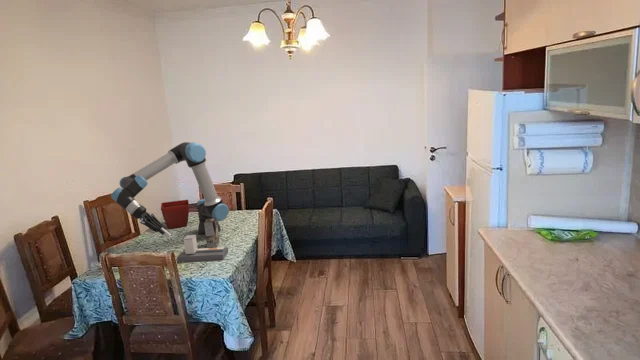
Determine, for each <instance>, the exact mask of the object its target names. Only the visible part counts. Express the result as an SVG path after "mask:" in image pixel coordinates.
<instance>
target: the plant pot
mask: <svg viewBox="0 0 640 360" xmlns="http://www.w3.org/2000/svg"><path fill="white" fill-rule="evenodd" d="M160 210H161V214H162V218H163V220H164V223H165V225H166V227H167V229H169V230H171V229H176V228H185V227H187V226H188V223H189V215H190V202H189V199H182V200H173V201H166V202H165V201H164V202H161V203H160Z"/></svg>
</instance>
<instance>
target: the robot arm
mask: <svg viewBox="0 0 640 360" xmlns="http://www.w3.org/2000/svg"><path fill="white" fill-rule="evenodd" d="M206 155H207V153H206V149H205V147H204V145H203V144H200V143H198V142H194V141H193V142H188V141H186V142H181V143H179V144H177V145H175V146H174V147H172V148H171V149H170V150H168V151H167V153H165V154H164V155H162V156H161V157H159V158H157V159H156V160H155V159H154V160H153V161H152V162H150V163H149V164H146V165H145V166H144V167H142V168H140V169H139V170H136V171H135V172H134V173H133V172H132V174H129V175H128V176H124V177H122V178H121V179H120V180H119V186H120V187H118V188H116V189H115V190H114V191H113V192H112V193H111V195H110V197H111V199H112V200H113V201H114V202H115V203H116V204H117V205H119V206H120V207H121V208H123V209H124V211H127V213H128V214H130V215H132V216H133V218H135V219H136V220H138V219H139V220H140V222H139V224H141V225H143V226H145V227H147V228H148V229H150V230H152V231H153V232H155V233H160V234H161V235H162V236H163V237H165V239H166V240H167V239H169V238H170V237H171V236H172V234H171V233H170V232H168V230H166V229H165V228H163V227H164V224H162V223H161V222H160V220H159V219H158V218H157V217H156V216H155V215H154V213H151V214H150V212H147V208H146V207H145V206H144V205H142V204H141V202H139V201H137V200H136V199H135V197H136V196H137V195H138V194H140V193H141V191H143V190H144V189H145V188H146V187H147V186H148V180H150V179H151V178H153V177H154V176H156V175H158V174H159V173H161V172H163V171H165V170H166V169H167V168H170V167H171V166H173V165H174V164H175V165H177V164H179V163H181V162H183V161H184V162H186V165H187V166H188V168H190V169H191V170H192V173H193V176H194V177H195V179H196V181H197V185H198V187H199V188H200V191H201V194H202V196H203V198H202V199H199V200H198V201H197V202H196V206H197V207H196V208H197V213H198V214H197V215H198V220H199V223H198V228H197V233H198V235H203V236H206V234H205V226H204V222H205V221H206V219H210V218H217V225H218V233H219V232H220V231H222V229H221V225H220V224H219V222H223V221H224V220H226V219H227V217H228V215H229V212H230V210H229V207H228V205H227V204H225V203H224V202H223V199H222V197H220V196H219V195H218V193H217V191H216V188H215V186H214V183H213V180H212V177H211V175H210V173H209V169H208V168H207V166H206V161H207V159H206Z"/></svg>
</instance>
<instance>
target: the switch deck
mask: <svg viewBox="0 0 640 360" xmlns="http://www.w3.org/2000/svg"><path fill="white" fill-rule="evenodd" d="M197 249H198V250H197V251H196V252H195V253H194V254H185V249H183V250H182V252H180V253H179V254H178V255H177V256H176V261H177V263H187V262H188V263H189V262H203V261H222V260H224V259H226V256H227V255H228V253H229V247H227V246H225V247H223V246H221V247H209V248H207V247H205V248H204V247H203V248H197Z"/></svg>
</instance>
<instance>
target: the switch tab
mask: <svg viewBox="0 0 640 360" xmlns="http://www.w3.org/2000/svg"><path fill="white" fill-rule="evenodd" d="M182 239H183V244H184V250H185V254H194V253H195V252H196V251H197V250H198V249H199V248H198V242H197V234H189V235H188V234H187V235H186V236H185V237H184V238H182Z"/></svg>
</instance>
